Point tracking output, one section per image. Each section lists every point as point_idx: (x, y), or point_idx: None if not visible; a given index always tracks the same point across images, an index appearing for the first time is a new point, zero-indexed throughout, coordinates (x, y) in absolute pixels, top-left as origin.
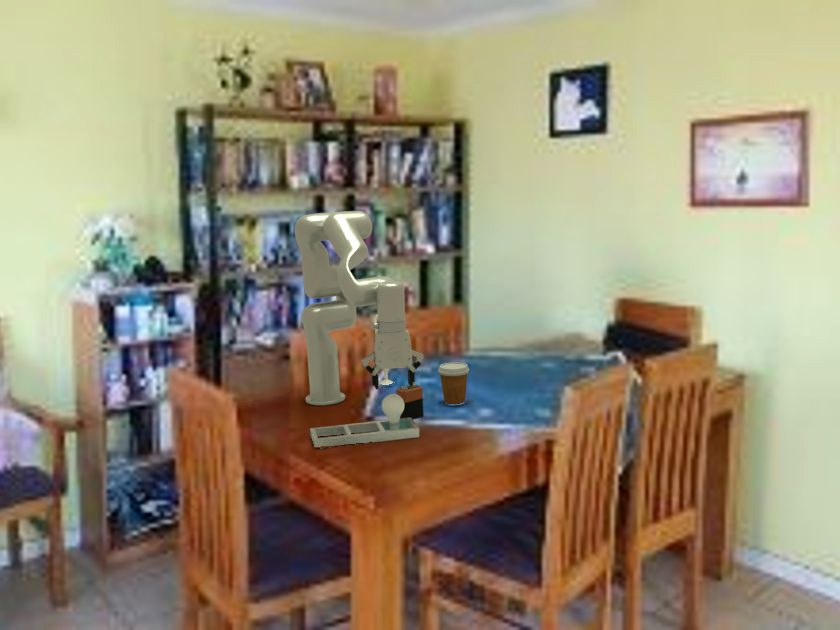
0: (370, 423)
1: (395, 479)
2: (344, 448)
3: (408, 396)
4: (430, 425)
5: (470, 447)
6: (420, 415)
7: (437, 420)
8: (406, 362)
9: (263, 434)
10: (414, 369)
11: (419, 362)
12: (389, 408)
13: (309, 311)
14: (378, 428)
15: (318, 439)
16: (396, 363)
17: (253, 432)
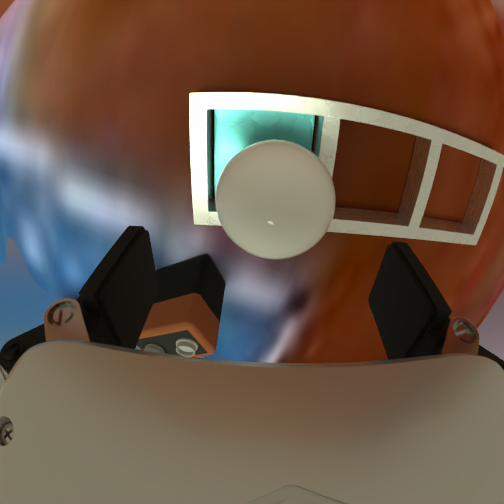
0: (341, 219)
1: None
2: (444, 107)
3: (180, 309)
4: (143, 193)
5: None
6: (162, 270)
7: (121, 228)
8: (57, 397)
9: (495, 280)
10: (54, 316)
11: (1, 359)
12: (311, 152)
13: None
14: (332, 166)
15: (499, 155)
16: (252, 437)
17: (496, 294)
